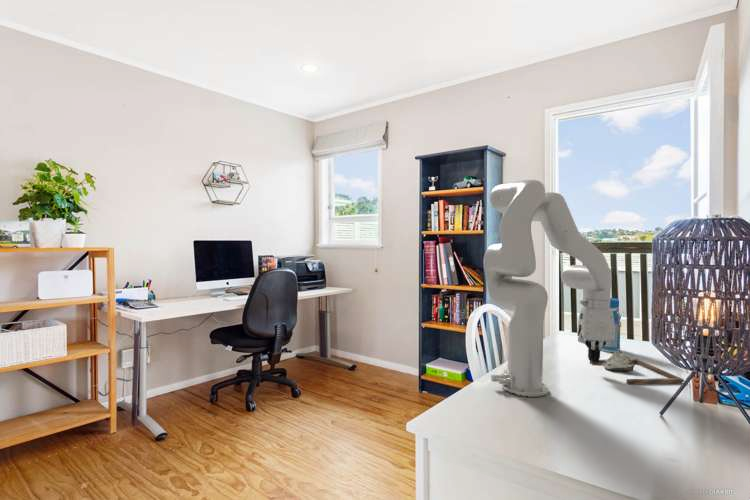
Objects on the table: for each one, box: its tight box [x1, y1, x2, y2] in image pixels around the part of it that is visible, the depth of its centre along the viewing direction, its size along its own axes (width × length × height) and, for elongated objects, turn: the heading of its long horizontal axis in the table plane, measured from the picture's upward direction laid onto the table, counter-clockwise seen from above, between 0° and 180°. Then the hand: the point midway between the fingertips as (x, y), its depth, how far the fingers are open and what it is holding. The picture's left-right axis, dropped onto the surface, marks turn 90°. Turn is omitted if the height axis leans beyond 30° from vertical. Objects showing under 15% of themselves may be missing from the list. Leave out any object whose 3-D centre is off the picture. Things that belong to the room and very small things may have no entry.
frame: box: [589, 358, 685, 385], centre depth 133 cm, size 17×20×1 cm
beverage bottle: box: [600, 297, 622, 353], centre depth 159 cm, size 8×8×20 cm
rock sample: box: [602, 348, 635, 372], centre depth 136 cm, size 10×8×9 cm
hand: (593, 361), depth 131 cm, fingers closed
